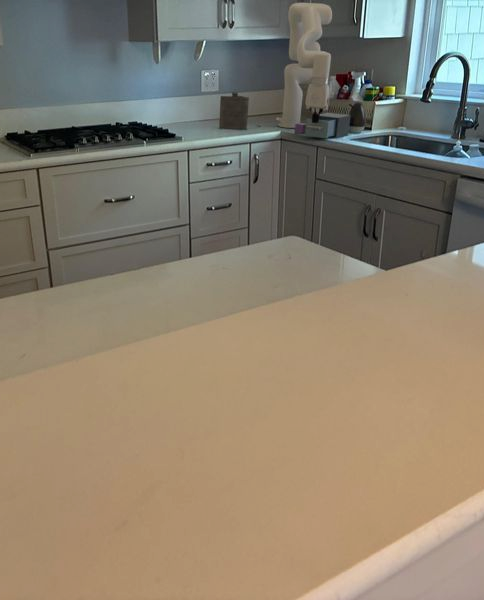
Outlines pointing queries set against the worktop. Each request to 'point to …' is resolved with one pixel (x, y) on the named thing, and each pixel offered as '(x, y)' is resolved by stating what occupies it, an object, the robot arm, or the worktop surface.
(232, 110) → the flask
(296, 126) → the purple cube
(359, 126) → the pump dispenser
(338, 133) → the grey drawer box
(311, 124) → the sliding drawer
